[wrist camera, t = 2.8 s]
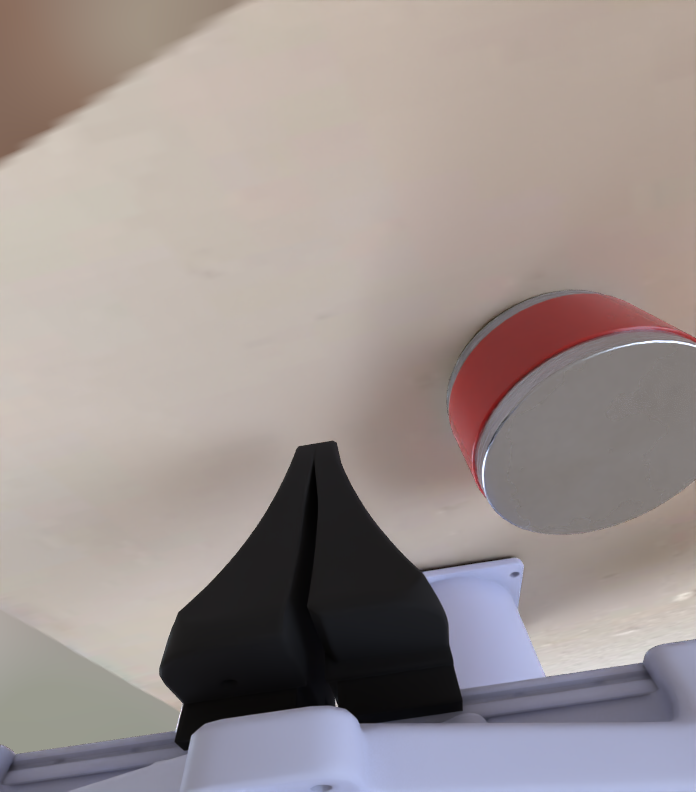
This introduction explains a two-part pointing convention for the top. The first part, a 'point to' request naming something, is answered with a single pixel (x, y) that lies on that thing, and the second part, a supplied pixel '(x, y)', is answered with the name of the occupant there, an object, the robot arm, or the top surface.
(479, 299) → the top surface
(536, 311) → the tin
